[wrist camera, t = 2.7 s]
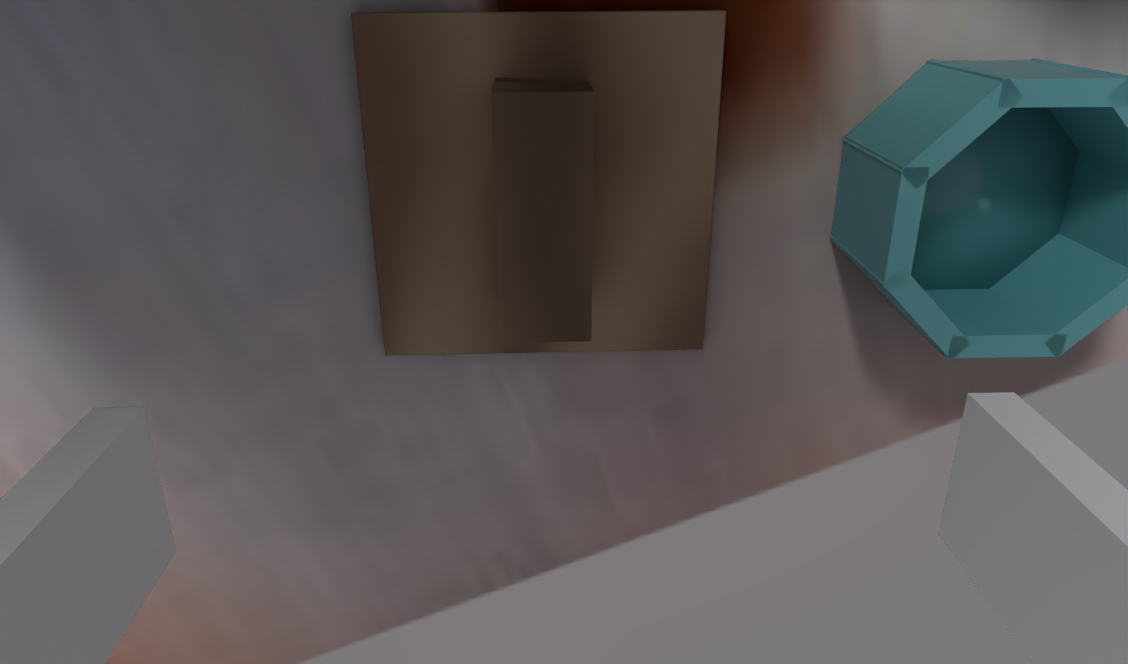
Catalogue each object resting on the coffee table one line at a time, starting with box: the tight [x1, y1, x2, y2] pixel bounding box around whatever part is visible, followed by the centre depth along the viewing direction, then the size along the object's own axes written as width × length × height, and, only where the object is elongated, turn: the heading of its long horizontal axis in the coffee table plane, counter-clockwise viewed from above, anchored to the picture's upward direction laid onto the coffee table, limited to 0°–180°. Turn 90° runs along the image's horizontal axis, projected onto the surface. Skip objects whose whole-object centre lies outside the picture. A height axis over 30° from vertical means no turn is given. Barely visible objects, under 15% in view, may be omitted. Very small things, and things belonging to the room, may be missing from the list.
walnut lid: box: [351, 10, 726, 355], centre depth 28 cm, size 12×12×5 cm
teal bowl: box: [830, 59, 1128, 360], centre depth 28 cm, size 9×9×5 cm
